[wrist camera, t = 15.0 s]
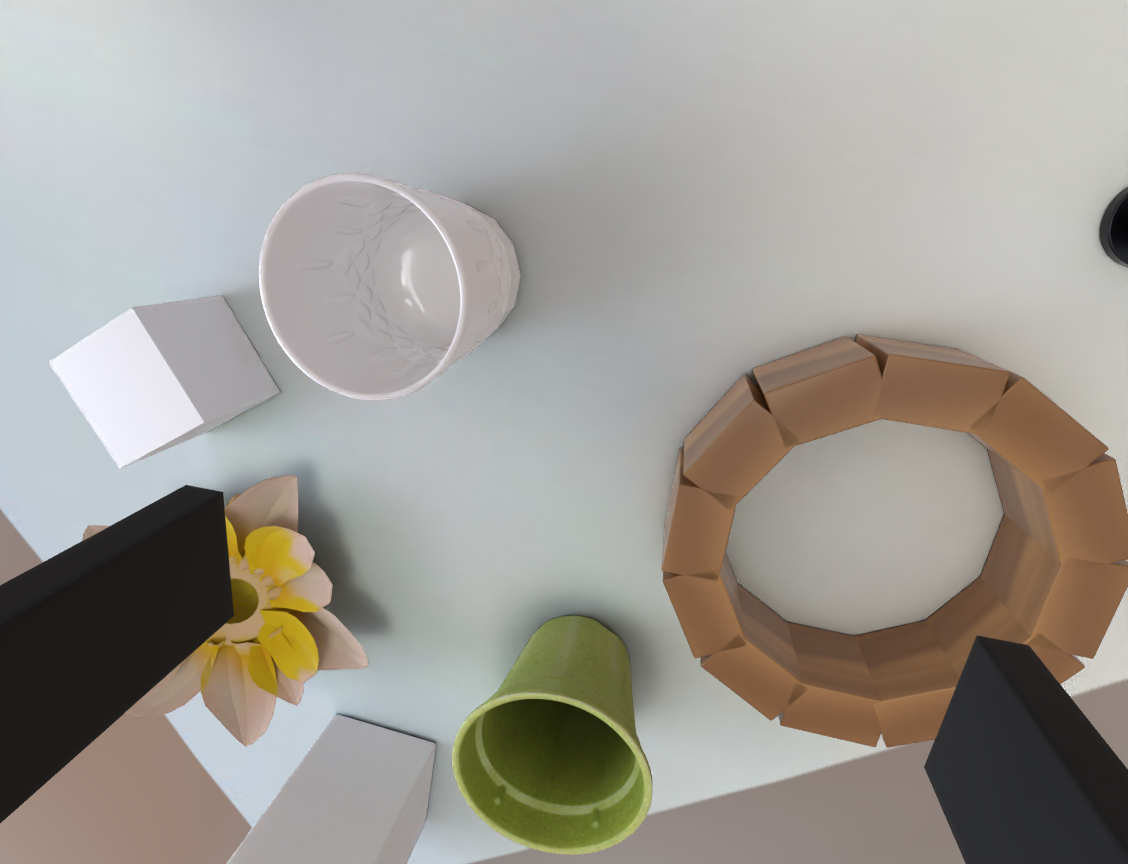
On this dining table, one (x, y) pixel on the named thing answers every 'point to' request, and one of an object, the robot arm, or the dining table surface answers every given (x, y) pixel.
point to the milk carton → (347, 801)
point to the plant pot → (558, 745)
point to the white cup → (382, 283)
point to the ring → (985, 608)
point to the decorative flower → (261, 621)
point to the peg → (1116, 229)
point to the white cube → (163, 376)
